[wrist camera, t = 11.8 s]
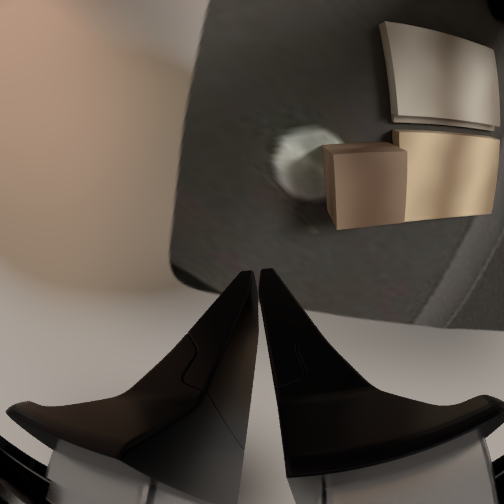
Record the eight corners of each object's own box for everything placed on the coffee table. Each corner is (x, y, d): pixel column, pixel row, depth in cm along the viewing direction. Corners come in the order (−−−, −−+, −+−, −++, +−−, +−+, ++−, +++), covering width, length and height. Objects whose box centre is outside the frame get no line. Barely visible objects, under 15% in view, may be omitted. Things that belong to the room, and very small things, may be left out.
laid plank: (485, 49, 11) (493, 49, 10) (491, 130, 15) (499, 133, 14) (378, 24, 13) (385, 21, 12) (391, 121, 16) (398, 123, 15)
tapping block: (386, 141, 17) (407, 151, 14) (386, 203, 20) (404, 222, 17) (321, 144, 18) (333, 154, 15) (326, 209, 21) (336, 229, 18)
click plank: (491, 136, 15) (499, 140, 14) (484, 208, 19) (491, 213, 18) (392, 129, 17) (399, 132, 16) (391, 216, 20) (397, 222, 19)
